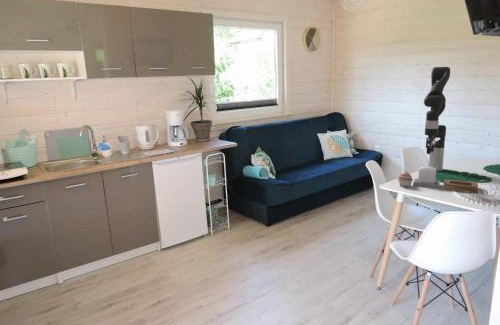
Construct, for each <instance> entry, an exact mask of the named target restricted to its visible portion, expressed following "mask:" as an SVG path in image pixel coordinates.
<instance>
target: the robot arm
mask: <svg viewBox="0 0 500 325" xmlns="http://www.w3.org/2000/svg"><path fill="white" fill-rule="evenodd" d="M430 76H431V77H430V78H431V82H430V83H431V88H430V90H429V92H428V93H427V95H425V97H424V100H423V104H424V107H426V108H430V110H427V111H426V113H425V114H426V115H425V116H426V118H425V125H424V135H426V136H427V137H426V139H425V140H426V141H425V148H426V154H427V155H429V158H428V159H429V161H428V167H433V168H435V169H436V172H443V167H444V157H445V156H444V154H445V143H446V142H445V141H446V134H447V126H446V125H444V124H439V123H440V122H439V117H440V116H441V115H442V114H443V112H444V111H445V109H446V104H447V103H446V102H447V99H446V96H445V95H444V94H443V92H444V89H445V86H446V85H447V83H448V82H449V80H450V77H451V68H450V67H449V66H434V67H432V69H431V75H430ZM436 139H437V140H436Z"/></svg>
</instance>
